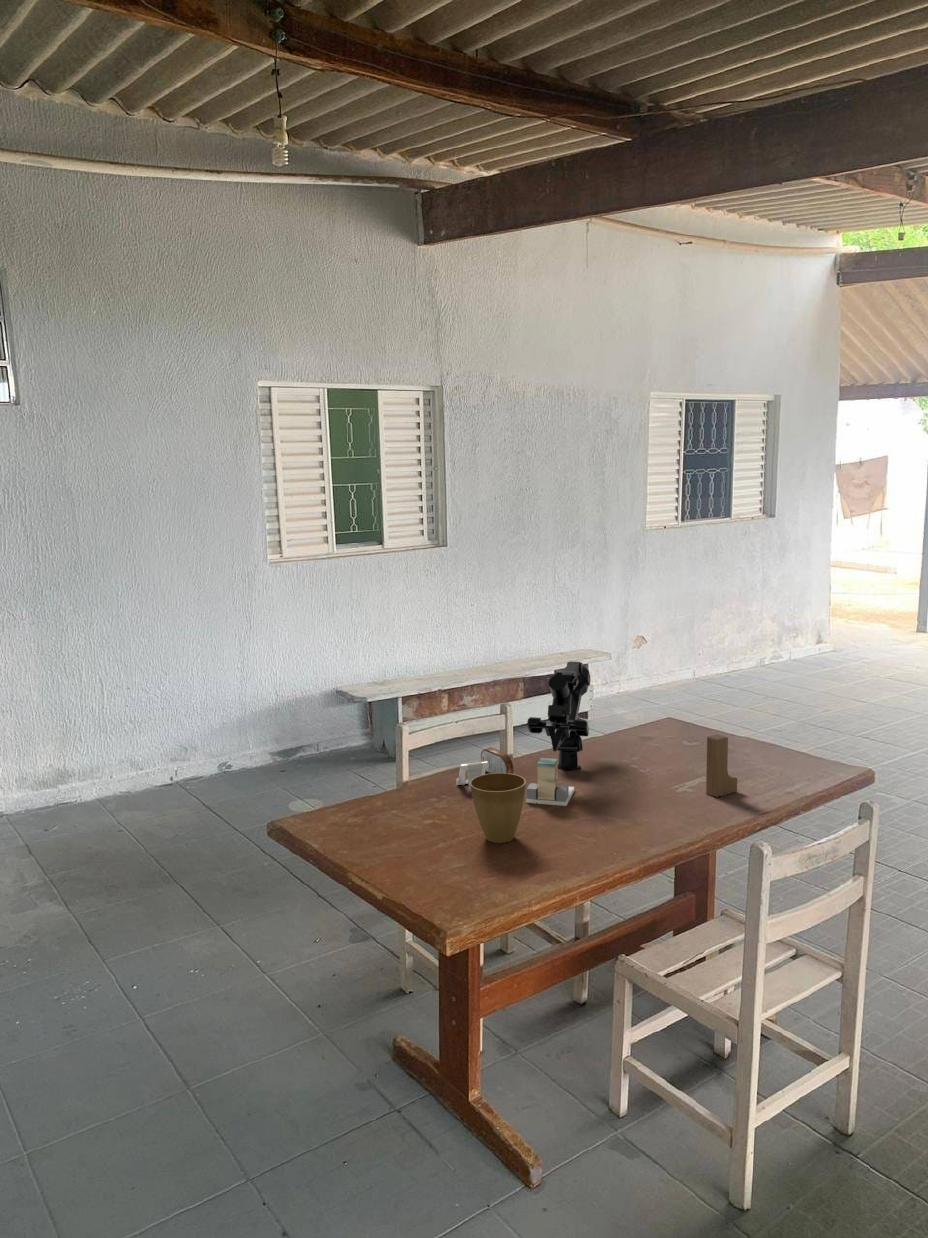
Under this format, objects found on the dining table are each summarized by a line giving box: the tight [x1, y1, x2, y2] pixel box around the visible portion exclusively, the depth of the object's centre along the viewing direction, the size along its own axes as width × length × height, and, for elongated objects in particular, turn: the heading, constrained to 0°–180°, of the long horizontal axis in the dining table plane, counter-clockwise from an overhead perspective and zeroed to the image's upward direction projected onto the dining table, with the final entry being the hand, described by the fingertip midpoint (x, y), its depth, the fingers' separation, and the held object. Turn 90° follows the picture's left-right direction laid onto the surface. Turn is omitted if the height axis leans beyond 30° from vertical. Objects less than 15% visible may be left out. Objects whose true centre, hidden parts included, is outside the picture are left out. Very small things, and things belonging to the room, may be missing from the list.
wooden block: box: [705, 733, 738, 798], centre depth 277 cm, size 9×4×18 cm, turn 123°
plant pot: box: [470, 773, 527, 844], centre depth 247 cm, size 15×15×16 cm
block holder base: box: [525, 782, 575, 807], centre depth 279 cm, size 14×12×4 cm
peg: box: [536, 757, 559, 800], centre depth 274 cm, size 5×5×11 cm
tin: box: [480, 746, 514, 774], centre depth 300 cm, size 15×3×8 cm, turn 34°
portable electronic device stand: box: [455, 761, 489, 792], centre depth 289 cm, size 9×8×8 cm
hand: (554, 750), depth 283 cm, fingers closed
